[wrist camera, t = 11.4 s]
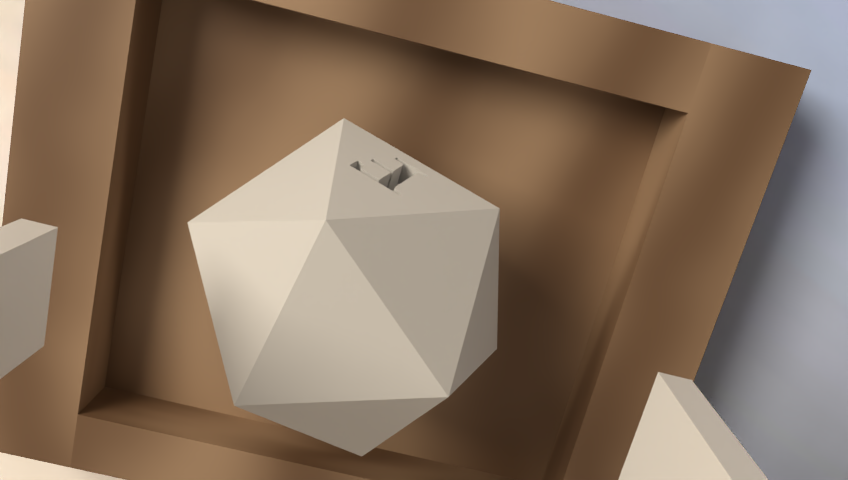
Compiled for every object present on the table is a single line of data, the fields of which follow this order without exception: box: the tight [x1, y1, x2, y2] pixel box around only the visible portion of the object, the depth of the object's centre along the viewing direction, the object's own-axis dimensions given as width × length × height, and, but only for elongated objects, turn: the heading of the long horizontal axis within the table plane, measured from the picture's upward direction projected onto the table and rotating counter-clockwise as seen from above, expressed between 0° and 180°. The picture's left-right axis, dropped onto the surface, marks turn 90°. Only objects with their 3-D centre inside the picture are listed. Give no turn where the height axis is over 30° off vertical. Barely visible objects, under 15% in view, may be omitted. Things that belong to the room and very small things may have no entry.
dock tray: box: [0, 0, 811, 480], centre depth 23 cm, size 22×18×3 cm
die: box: [187, 118, 500, 456], centre depth 20 cm, size 8×9×10 cm
